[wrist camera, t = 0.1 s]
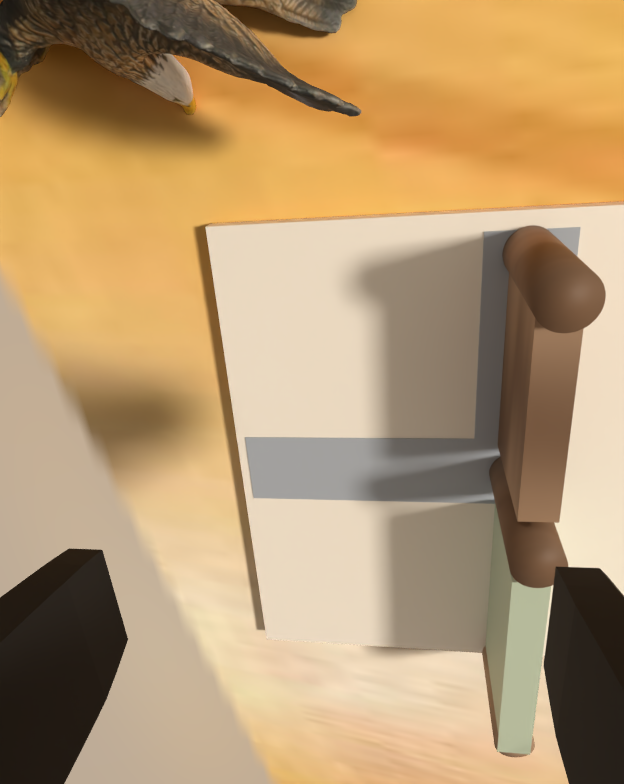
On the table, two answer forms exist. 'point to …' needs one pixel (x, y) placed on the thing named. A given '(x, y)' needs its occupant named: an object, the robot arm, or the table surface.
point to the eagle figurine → (162, 42)
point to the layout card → (401, 414)
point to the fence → (539, 395)
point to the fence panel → (513, 652)
